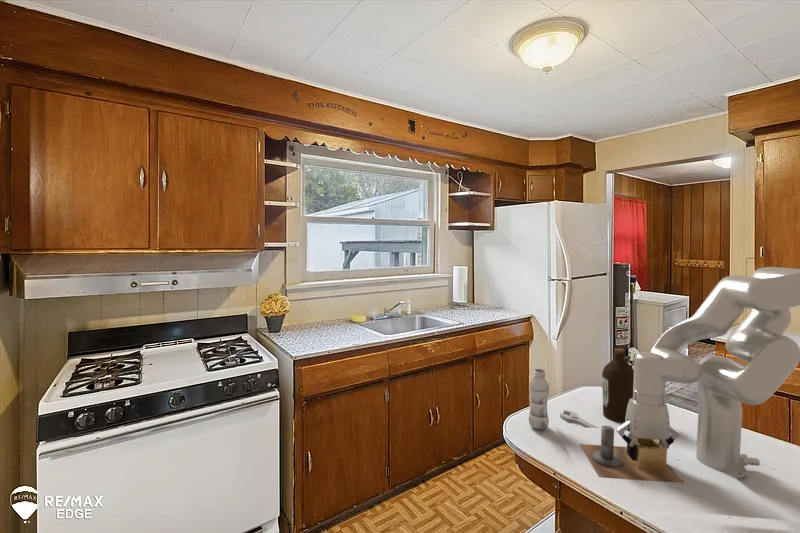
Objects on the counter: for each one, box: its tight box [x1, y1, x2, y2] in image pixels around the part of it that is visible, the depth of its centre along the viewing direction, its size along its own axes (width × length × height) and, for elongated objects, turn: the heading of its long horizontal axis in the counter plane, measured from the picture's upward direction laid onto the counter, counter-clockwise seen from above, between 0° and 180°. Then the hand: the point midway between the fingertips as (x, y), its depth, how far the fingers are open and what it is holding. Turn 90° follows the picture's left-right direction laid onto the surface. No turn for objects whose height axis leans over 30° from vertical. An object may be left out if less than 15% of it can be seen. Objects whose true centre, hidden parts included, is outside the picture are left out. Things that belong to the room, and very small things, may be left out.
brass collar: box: [627, 438, 668, 471], centre depth 111 cm, size 7×7×6 cm
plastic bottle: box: [528, 368, 550, 431], centre depth 135 cm, size 6×7×20 cm
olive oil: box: [601, 347, 634, 424], centre depth 142 cm, size 11×11×25 cm
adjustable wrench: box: [559, 409, 599, 429], centre depth 134 cm, size 25×6×2 cm, turn 20°
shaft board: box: [578, 425, 685, 484], centre depth 112 cm, size 21×17×11 cm
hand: (646, 458), depth 111 cm, fingers closed on brass collar, 7 cm apart
